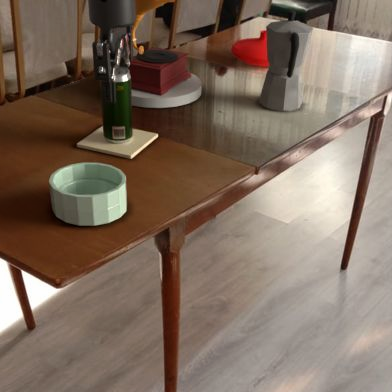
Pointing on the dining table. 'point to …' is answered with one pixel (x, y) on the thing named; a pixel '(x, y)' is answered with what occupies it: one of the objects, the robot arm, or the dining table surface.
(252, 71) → the dining table surface
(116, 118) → the beer can
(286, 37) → the coffeepot
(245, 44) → the red disc with nozzle
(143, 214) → the dining table surface
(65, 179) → the bowl
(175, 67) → the gramophone
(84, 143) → the coaster
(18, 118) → the dining table surface
